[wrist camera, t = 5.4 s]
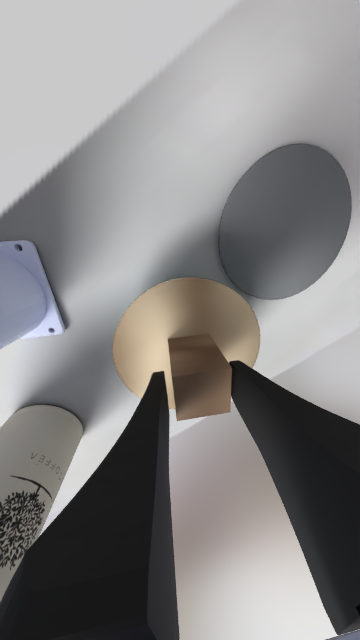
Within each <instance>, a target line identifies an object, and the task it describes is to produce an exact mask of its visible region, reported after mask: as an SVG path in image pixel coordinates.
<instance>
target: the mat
mask: <svg viewBox="0 0 360 640" xmlns="http://www.w3.org/2000/svg"><path fill="white" fill-rule="evenodd" d="M350 218H351V192H350V187H349V183H348V179H347V177H346V175H345V172H344V170H343V169H342V167H341V165H340V164H339V162H338V161H337V160H336V159H335V158H334V157H333V156H332V155H331V154H329V153H328V152H327V151H325V150H323V149H321V148H319V147H316V146H312V145H308V144H295V145H288V146H285V147H282V148H279V149H277V150H275V151H273V152H270V153H269V154H267V155H266V156H264V157H263V158H261V159H260V160H259V161H258V162H256V163H255V164H254V165H253V166H252V167H251V168H250V169H249V170H248V171H247V172H246V173H245V174H244V175H243V176H242V178H241V179H240V180H239V181H238V183H237V184H236V186H235V187H234V189H233V190H232V192H231V194H230V196H229V198H228V200H227V203H226V205H225V207H224V210H223V214H222V217H221V222H220V228H219V251H220V257H221V260H222V264H223V266H224V269H225V271H226V273H227V275H228V276H229V278H230V279H231V281H232V282H233V283H234V284H235V285H236V286H237V287H238V288H239V289H241V290H242V291H244V292H245V293H247V294H250V295H252V296H254V297H257V298H261V299H268V300H275V299H283V298H287V297H290V296H293V295H295V294H298V293H300V292H301V291H303V290H305V289H307V288H308V287H309V286H311V285H312V284H314V283H315V282H316V281H317V280H318V279H319V278H320V277H321V276H322V275H323V274H324V273H325V272H326V271H327V270H328V268H329V267H330V266H331V264H332V263H333V261H334V260H335V258H336V257H337V255H338V253H339V251H340V249H341V247H342V245H343V243H344V240H345V238H346V235H347V231H348V228H349V223H350Z"/></svg>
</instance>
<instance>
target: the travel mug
mask: <svg viewBox="0 0 360 640" xmlns="http://www.w3.org/2000/svg"><path fill="white" fill-rule="evenodd" d="M82 435H83V427H82V424H81V423H80V421H79V420H78V418H77V417H75V416H74V415H73V414H72V413H70V412H68V411H66V410H64V409H62V408H59V407H55V406H50V405H33V406H28V407H25V408H22V409H20V410H18V411H17V412H15V413H14V414H13V415H12V416H11V417H10V418H9V419H8V420H7V421H6V422H5V423H4V425H3V426H2V427H1V428H0V602H1V600H2V597H3V595H4V593H5V591H6V589H7V587H8V585H9V583H10V581H11V579H12V577H13V575H14V573H15V572H16V570H17V568H18V566H19V564H20V562H21V560H22V558H23V556H24V554H25V552H26V551H27V550H28V549H29V547H30V546H31V545H32V544H33V543H34V542H35V541H36V540H37V539H38V537H39V535H40V533H41V531H42V528H43V526H44V524H45V521H46V519H47V517H48V514H49V512H50V510H51V507H52V505H53V503H54V500H55V498H56V496H57V493H58V491H59V489H60V486H61V484H62V482H63V479H64V477H65V475H66V472H67V470H68V468H69V465H70V463H71V461H72V459H73V456H74V454H75V452H76V449H77V447H78V445H79V442H80V440H81V438H82Z"/></svg>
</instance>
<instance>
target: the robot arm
mask: <svg viewBox="0 0 360 640" xmlns="http://www.w3.org/2000/svg"><path fill="white" fill-rule="evenodd" d="M19 245H21V247H22V251H21V250H20V249H19V247H18V246H19ZM51 328H53V329H54V330H55V331H52V330H51ZM64 331H65V326H64V324H63V321H62V318H61V315H60V313H59V310H58V307H57V305H56V302H55V299H54V296H53V294H52V291H51V288H50V285H49V283H48V280H47V277H46V275H45V272H44V269H43V266H42V264H41V261H40V258H39V255H38V253H37V250H36V247H35V245H34V244H33V243H32V242H30V241H27V240H17V241H4V242H0V349H2V348H4V347H5V346H7V345H9V344H10V343H12V342H14V341H16V340H17V339H25V338H34V337H42V336H51V335H59V334H62V333H63V332H64ZM229 364H230V366H231V368H232V378H231V396H232V399H233V401H234V404H235V405H236V408H237V409H238V411H239V413H240V415H241V417H242V419H243V421H244V422H245V424H246V426H247V428H248V430H249V432H250V433H251V435H252V437H253V439H254V441H255V442H256V444H257V446H258V448H259V450H260V452H261V454H262V456H263V458H264V460H265V463H266V465H267V467H268V470H269V472H270V474H271V476H272V479H273V481H274V483H275V486H276V488H277V490H278V493H279V495H280V497H281V500H282V502H283V504H284V507H285V509H286V512H287V514H288V516H289V519H290V521H291V524H292V526H293V529H294V531H295V534H296V536H297V538H298V541H299V543H300V546H301V548H302V551H303V553H304V556H305V559H306V561H307V564H308V567H309V569H310V572H311V574H312V577H313V580H314V582H315V585H316V587H317V590H318V592H319V595H320V598H321V601H322V603H323V606H324V608H325V610H326V613H327V615H328V617H329V618H330V621H331V623H332V625H333V627H334V629H335V632H336V633H337V635H340V636H336V637H333V638H330V639H326V640H360V630H358V629H360V425H359V424H357V423H354V422H352V421H349V420H347V419H345V418H343V417H340V416H338V415H336V414H333V413H331V412H329V411H327V410H325V409H322V408H320V407H318V406H316V405H314V404H312V403H310V402H308V401H306V400H304V399H302V398H300V397H299V396H297V395H295V394H293V393H291V392H289V391H288V390H286V389H284V388H282V387H281V386H279V385H277V384H276V383H274V382H272V381H271V380H269V379H268V378H266V377H264V376H263V375H261V374H260V373H258V372H257V371H255V370H254V369H252V368H251V367H249V366H248V365H246V364H245V363H243V362H241V361H240V360H236V361H229ZM355 630H356V631H355ZM352 631H353V632H352ZM348 632H350V633H348ZM345 633H346V634H345ZM341 634H343V635H341ZM0 640H179V625H178V611H177V597H176V582H175V566H174V550H173V537H172V519H171V502H170V485H169V405H168V395H167V388H166V381H165V374H164V371H159V372H153V373H152V375H151V378H150V381H149V384H148V386H147V388H146V391H145V393H144V395H143V397H142V399H141V401H140V403H139V405H138V407H137V409H136V411H135V412H134V414H133V416H132V418H131V420H130V421H129V423H128V425H127V426H126V428H125V429H124V431H123V433H122V434H121V436H120V437H119V439H118V440H117V442H116V443H115V445H114V446H113V447H112V449H111V450H110V452H109V453H108V454H107V456H106V457H105V459H104V460H103V461H102V463H101V464H100V465H99V467H98V468H97V469H96V470H95V472H94V473H93V474H92V475H91V477H90V478H89V479H88V480H87V482H86V483H85V484H84V485H83V487H82V488H81V489H80V490H79V492H78V493H77V494H76V495H75V496H74V498H73V499H72V500H71V501H70V502H69V504H68V505H67V506H66V507H65V508H64V509H63V511H62V512H61V513H60V514H59V515H58V516H57V517H56V518H55V519H54V521H53V522H52V523H51V524H50V525H49V526H48V527H47V529H46V530H45V531H44V532H43V533H42V534H41V535H40V536H39V537H38V539H37V540H36V541H35V542H34V543H33V544H32V545H31V546H30V547H29V549H28V550H27V551H26V552H25V554H24V556H23V558H22V560H21V562H20V564H19V566H18V568H17V570H16V572H15V573H14V575H13V577H12V579H11V581H10V583H9V585H8V587H7V589H6V591H5V593H4V595H3V597H2V600H1V602H0Z"/></svg>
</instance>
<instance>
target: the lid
mask: <svg viewBox="0 0 360 640" xmlns="http://www.w3.org/2000/svg"><path fill="white" fill-rule="evenodd" d="M259 347H260V329H259V325H258V321H257V318H256V316H255V314H254V311H253V310H252V308H251V307H250V305H249V304H248V303H247V302H246V300H245V299H244V298H243V297H242V296H240V295H239V294H238V293H237V292H236V291H234V290H232V289H231V288H229V287H227V286H225V285H223V284H220V283H218V282H215V281H213V280H209V279H205V278H197V277H183V278H177V279H172V280H168V281H165V282H162V283H160V284H158V285H155V286H153V287H151V288H150V289H148V290H147V291H145V292H144V293H142V294H141V295H140V296H139V297H138V298H136V299H135V300H134V301H133V303H132V304H131V305H130V306H129V307H128V309H127V310H126V312H125V313H124V315H123V316H122V318H121V320H120V322H119V324H118V326H117V328H116V332H115V335H114V340H113V359H114V364H115V367H116V370H117V373H118V375H119V376H120V378H121V380H122V381H123V383H124V384H125V385H126V387H127V388H128V389H129V390H130V391H131V392H132V393H134V394H135V395H136V396H138V397H139V398H141V399H142V397H143V395H144V393H145V391H146V388H147V386H148V384H149V381H150V378H151V375H152V373H153V372H159V371H164V374H165V381H166V388H167V395H168V405H169V409H176V416H177V421H180V420H186V419H192V418H198V417H204V416H210V415H216V414H222V413H228V412H230V402H231V378H232V368H231V366H230V364H229V361H236V360H240V361H241V362H243V363H245V364H246V365H248V366H249V367H251V368H253V366H254V364H255V362H256V359H257V356H258V353H259Z"/></svg>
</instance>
